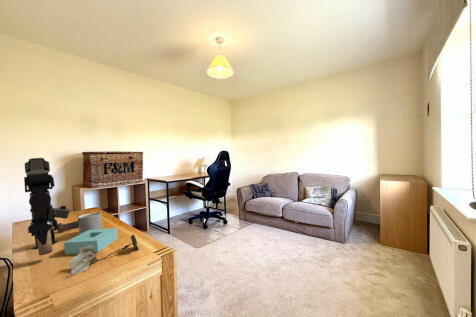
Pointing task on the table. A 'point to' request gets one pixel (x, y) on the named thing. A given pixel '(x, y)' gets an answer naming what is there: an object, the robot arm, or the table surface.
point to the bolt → (66, 226)
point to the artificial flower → (90, 257)
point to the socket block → (91, 240)
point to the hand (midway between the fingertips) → (44, 242)
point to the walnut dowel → (47, 247)
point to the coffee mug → (89, 222)
